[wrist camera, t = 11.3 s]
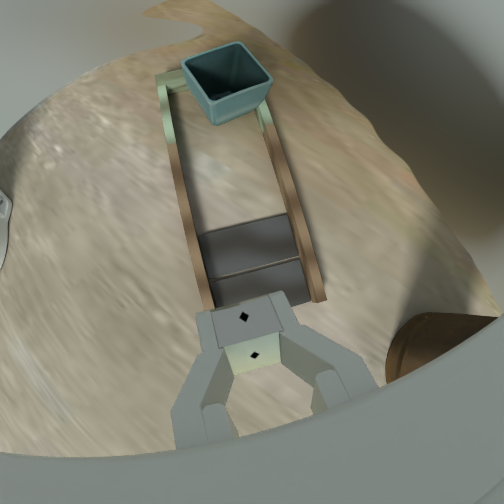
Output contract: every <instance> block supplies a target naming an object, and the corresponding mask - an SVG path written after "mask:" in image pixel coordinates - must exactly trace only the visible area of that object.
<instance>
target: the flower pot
mask: <svg viewBox="0 0 504 504" xmlns="http://www.w3.org/2000/svg"><path fill="white" fill-rule="evenodd" d="M181 66H182V70H183V73H184V77H185V80H186V83H187V86H188V88H189V90H190V91H191V93H192V94H193V96H194V97H195V99H196V100H197V102H198V103H199V105H200V106H201V108H202V109H203V111H204V112H205V114H206V115H207V117H208V119H209V120H210V122H211V123H212V124H213V125H215V126H218V125H221V124H223V123H225V122H228V121H230V120H232V119H234V118H237V117H239V116H242V115H244V114H246V113H248V112H250V111H252V110H254V109H255V108H257V107H258V106H259V105H260V104H261V103H262V102H263V100H264V98H265V97H266V95H267V93H268V91H269V89H270V87H271V85H272V83H273V82H274V79H273V77H272V76H271V75H270V74H269V73H268V72H267V70H266V69H265V68H264V67H263V66H262V65H261V64H260V62H259V61H258V60H257V59H256V58H255V57H254V56H253V55H252V53H251V52H250V51H249V50H248V49H247V48H246V46H245V45H244V44H243V43H242V42H240V41H235V42H232V43H228V44H225V45H222V46H219V47H216V48H213V49H210V50H207V51H204V52H201V53H198V54H196V55H193V56H190V57H188V58H185V59H183V60H182V61H181ZM217 99H219V100H217Z"/></svg>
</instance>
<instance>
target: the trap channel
mask: <svg viewBox="0 0 504 504" xmlns="http://www.w3.org/2000/svg"><path fill="white" fill-rule="evenodd" d="M155 79H156V83H157V88H158V94H159V101H160V107H161V113H162V119H163V125H164V131H165V137H166V142H167V148H168V153H169V158H170V164H171V169H172V174H173V179H174V184H175V189H176V194H177V198H178V203H179V208H180V212H181V217H182V221H183V226H184V230H185V235H186V239H187V243H188V247H189V252H190V256H191V260H192V264H193V268H194V272H195V276H196V280H197V284H198V288H199V292H200V295H201V299H202V303H203V307H204V310H205V311H206V310H211V309H214V308H215V305H214V302H213V298H212V294H211V290H210V287H209V283H208V279H207V275H206V271H205V267H204V263H203V259H202V255H201V251H200V247H199V243H198V239H197V234H196V230H195V226H194V222H193V217H192V213H191V209H190V204H189V200H188V195H187V191H186V186H185V182H184V177H183V172H182V167H181V163H180V158H179V153H178V148H177V143H176V138H175V133H174V127H173V122H172V117H171V111H170V106H169V100H168V94H172V93H176V92H181V91H185V90H189V88H188V86H187V83H186V80H185V77H184V73H183V70H182V69H179V70H174V71H170V72H166V73H162V74H157V75H155ZM255 112H256V115H257V118H258V121H259V124H260V127H261V130H262V133H263V136H264V140H265V143H266V146H267V149H268V152H269V155H270V158H271V161H272V165H273V168H274V171H275V174H276V177H277V181H278V184H279V187H280V190H281V194H282V197H283V200H284V204H285V207H286V210H287V214H288V217H289V220H288V217H287V215H282V216H278V217H274V218H269V219H265V220H261V221H257V222H252V223H248V224H244V225H240V226H236V227H232V228H228V229H224V230H219V231H215V232H211V233H207V234H203V235H199V240H200V244H201V249H202V253H203V257H204V261H205V265H206V269H207V273H208V276H209V279H211V278H215V277H219V276H223V275H227V274H230V273H234V272H238V271H242V270H246V269H250V268H254V267H257V266H261V265H265V264H269V263H273V262H276V261H280V260H284V259H288V258H292V257H295V256H300V259H301V262H300V259H299V260H295V261H291V262H288V263H284V264H280V265H277V266H273V267H269V268H265V269H261V270H258V271H254V272H250V273H246V274H242V275H239V276H235V277H231V278H227V279H223V280H219V281H215V282H211V283H210V284H211V288H212V292H213V296H214V299H215V303H216V307H217V308H219V307H223V306H227V305H231V304H236V303H239V302H242V301H245V300H249V299H252V298H256V297H259V296H263V295H266V294H267V295H268V294H270V293H274V292H278V291H281V290H282V291H283V292H284V294H285V296H286V298H287V300H288V302H289V304H290V306H291V307H293V306H296V305H299V304H303V303H306V302H309V301H311V300H312V302H314V303H319V302H323V301H326V300H327V298H326V294H325V290H324V286H323V282H322V279H321V275H320V271H319V267H318V264H317V260H316V257H315V253H314V249H313V246H312V242H311V239H310V235H309V232H308V229H307V225H306V222H305V218H304V215H303V212H302V208H301V205H300V202H299V199H298V195H297V192H296V189H295V186H294V183H293V180H292V177H291V173H290V170H289V167H288V164H287V161H286V158H285V155H284V152H283V149H282V146H281V143H280V140H279V137H278V135H277V132H276V129H275V126H274V123H273V120H272V118H271V115H270V112H269V109H268V106H267V104H266V101H265V98H264V100H263V102H262V103H261V104H260V105H259V106H258V107H257V108H255ZM289 221H290V224H291V227H292V230H291V227H290V224H289ZM292 231H293V234H294V237H293V234H292ZM294 238H295V241H296V244H295V241H294ZM296 245H297V248H298V252H299V255H298V252H297V248H296ZM301 263H302V266H301ZM302 267H303V270H304V273H303V270H302ZM304 274H305V277H304ZM305 278H306V281H307V285H308V288H307V285H306V281H305ZM308 289H309V292H308ZM309 293H310V296H311V300H310V296H309Z"/></svg>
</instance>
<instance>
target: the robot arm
mask: <svg viewBox="0 0 504 504" xmlns="http://www.w3.org/2000/svg"><path fill="white" fill-rule="evenodd" d="M2 202H3V203H2ZM11 208H12V202H11V200H10V199H9V198H8V197H7V196H6V195H5V194H4V193H3V191H2V190H1V189H0V269H1V267H2V264H3V261H4V258H5V254H6V248H7V239H8V220H9V216H10V213H11ZM196 323H197V328H198V334H199V339H200V344H201V349H202V353H200V354H198V355H197V357H196V359H195V361H194V363H193V365H192V368H191V370H190V372H189V374H188V376H187V378H186V380H185V382H184V384H183V386H182V389H181V391H180V393H179V395H178V397H177V399H176V401H175V403H174V405H173V407H172V409H171V418H172V425H173V432H174V438H175V444H176V450H171V451H164V452H156V453H147V454H137V455H125V456H109V457H48V456H33V455H22V454H13V453H5V452H0V504H504V314H502V315H501V316H500V317H498V318H497V319H496V320H494V321H493V322H491V323H490V324H489V325H487V326H486V327H484V328H483V329H482V330H480V331H479V332H477V333H476V334H474V335H473V336H471V337H470V338H468V339H467V340H465V341H464V342H462V343H461V344H459V345H457V346H456V347H454V348H453V349H451V350H449V351H448V352H446V353H444V354H443V355H441V356H439V357H438V358H436V359H434V360H432V361H431V362H429V363H427V364H425V365H423V366H422V367H420V368H418V369H416V370H414V371H412V372H410V373H409V374H407V375H405V376H403V377H401V378H399V379H397V380H395V381H393V382H391V383H389V384H387V385H385V386H382V387H380V388H379V387H378V386H377V384H376V382H375V380H374V378H373V377H372V375H371V373H370V371H369V369H368V368H367V366H366V364H365V362H364V361H363V359H362V357H361V356H359V355H358V354H356V353H354V352H352V351H350V350H349V349H347V348H345V347H343V346H341V345H340V344H338V343H336V342H334V341H332V340H331V339H329V338H327V337H325V336H323V335H322V334H320V333H318V332H316V331H315V330H313V329H311V328H309V327H308V326H306V325H301V326H300V324H299V322H298V320H297V318H296V316H295V314H294V312H293V310H292V308H291V306H290V304H289V302H288V300H287V298H286V296H285V294H284V292H283V291H282V290H281V291H278V292H274V293H270V294H268V295H267V294H266V295H263V296H259V297H256V298H252V299H249V300H245V301H242V302H239V303H236V304H231V305H227V306H223V307H219V308H214V309H211V310H206V311H202V312H198V313H196ZM277 363H282V364H283V365H284V366H285V367H287V368H288V369H289V370H291V371H292V372H293V373H295V374H296V375H297V376H299V377H300V378H301V379H303V380H304V381H305V382H307V383H308V384H309V385H311V386H312V387H313V388H314V390H313V396H312V403H311V410H312V412H313V415H312V416H309V417H306V418H303V419H300V420H297V421H294V422H291V423H288V424H285V425H282V426H278V427H275V428H272V429H268V430H265V431H261V432H257V433H254V434H250V435H246V436H242V437H239V434H238V431H237V428H236V427H235V425H234V423H233V421H232V419H231V417H230V415H229V413H228V411H227V410H226V408H225V405H226V402H227V398H228V395H229V392H230V389H231V386H232V383H233V380H234V376H235V375H238V374H242V373H245V372H249V371H252V370H255V369H259V368H262V367H266V366H270V365H274V364H277Z"/></svg>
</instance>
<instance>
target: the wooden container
mask: <svg viewBox="0 0 504 504" xmlns="http://www.w3.org/2000/svg"><path fill="white" fill-rule="evenodd" d="M497 318H498V317H490V316H478V315H468V314H454V313H432V312H430V313H423V314H420V315H417V316H415V317H414V318H412V319H411V320H409V321H408V322H407V323H406V324H405V325H404V326H403V327H402V328H401V329H400V331H399V332H398V334H397V335H396V337H395V339H394V340H393V342H392V344H391V347H390V349H389V352H388V356H387V361H386V381H387V384H389V383H391V382H393V381H395V380H397V379H399V378H401V377H403V376H405V375H407V374H409V373H410V372H412V371H414V370H416V369H418V368H420V367H422V366H423V365H425V364H427V363H429V362H431V361H432V360H434V359H436V358H438V357H439V356H441V355H443V354H444V353H446V352H448V351H449V350H451V349H453V348H454V347H456V346H457V345H459V344H461V343H462V342H464V341H465V340H467V339H468V338H470V337H471V336H473V335H474V334H476V333H477V332H479V331H480V330H482V329H483V328H484V327H486V326H487V325H489V324H490V323H491V322H493V321H494V320H496V319H497Z"/></svg>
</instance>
